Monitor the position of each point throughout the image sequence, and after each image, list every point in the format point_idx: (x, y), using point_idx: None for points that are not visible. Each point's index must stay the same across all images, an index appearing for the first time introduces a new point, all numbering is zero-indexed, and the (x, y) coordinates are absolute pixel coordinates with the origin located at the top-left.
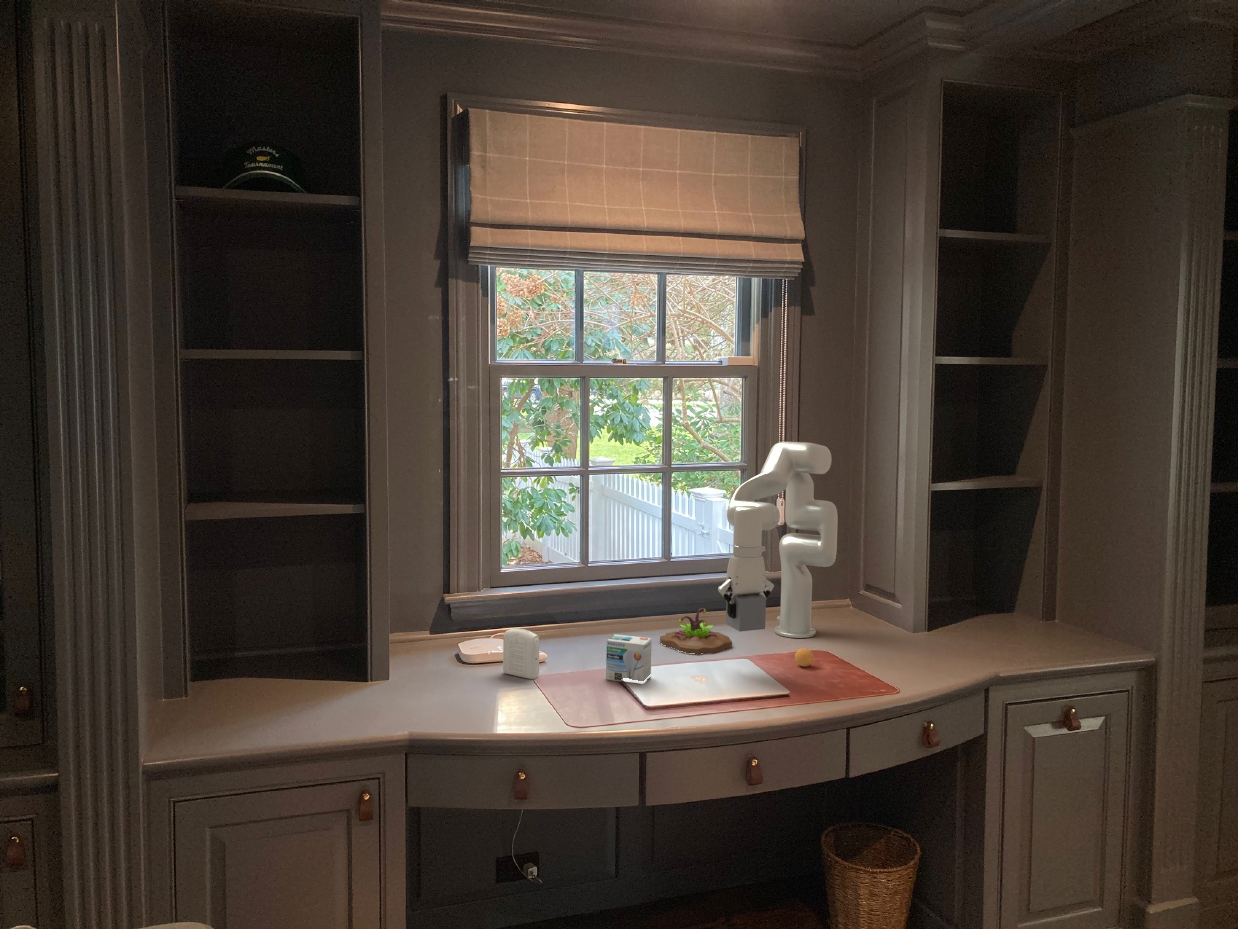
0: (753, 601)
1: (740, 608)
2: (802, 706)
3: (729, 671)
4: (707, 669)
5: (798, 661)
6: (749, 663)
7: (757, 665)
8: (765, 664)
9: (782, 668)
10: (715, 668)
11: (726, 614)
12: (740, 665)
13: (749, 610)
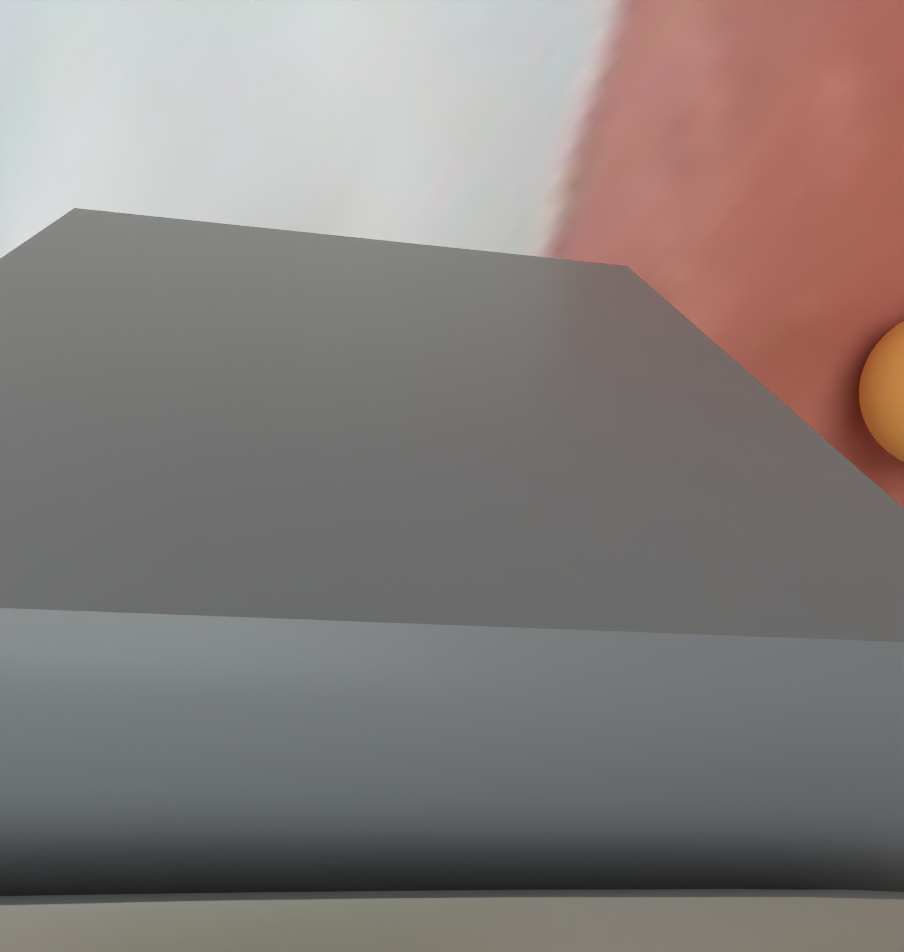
0: None
1: None
2: None
3: (216, 202)
4: (11, 35)
5: (861, 400)
6: (554, 63)
7: (582, 160)
8: (670, 168)
9: (715, 333)
10: (117, 45)
11: (5, 265)
12: (428, 79)
13: None
